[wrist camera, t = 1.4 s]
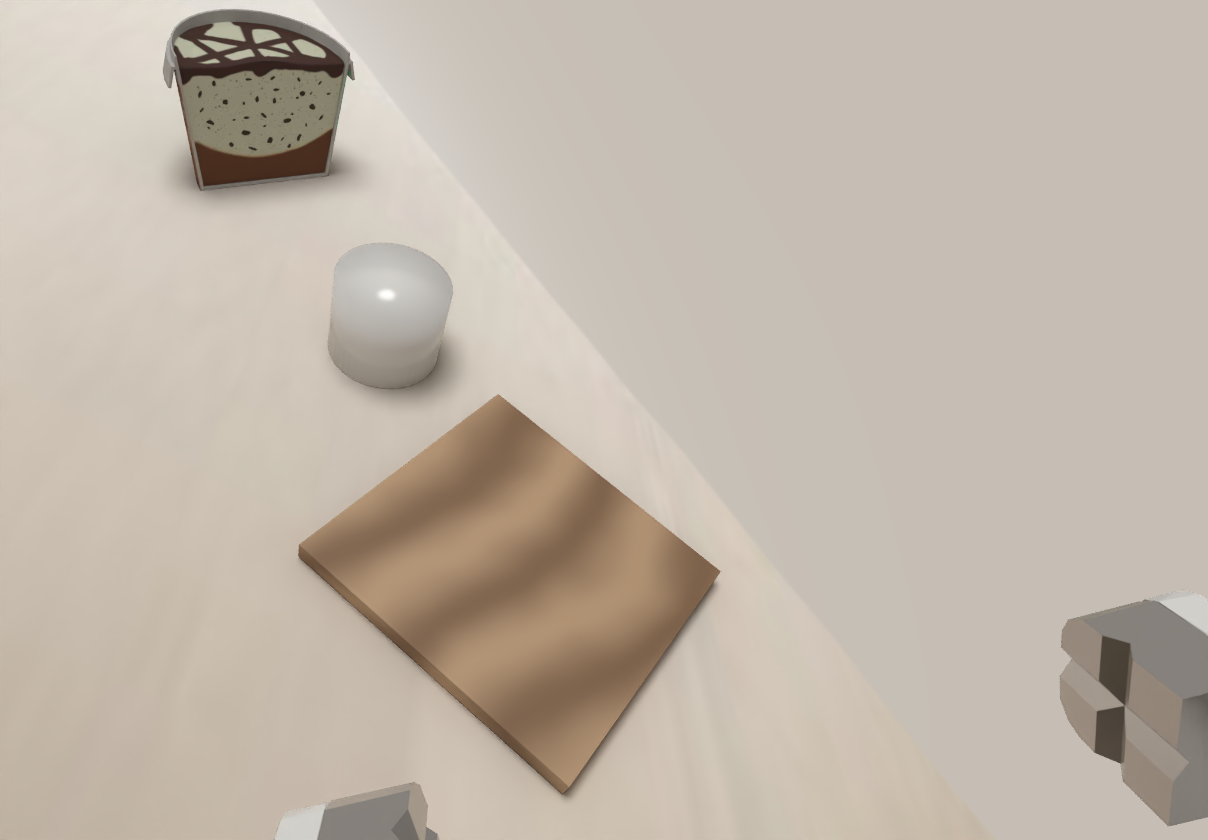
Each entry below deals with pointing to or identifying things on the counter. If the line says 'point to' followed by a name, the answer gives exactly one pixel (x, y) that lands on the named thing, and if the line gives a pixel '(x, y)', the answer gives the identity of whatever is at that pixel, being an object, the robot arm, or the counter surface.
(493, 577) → the walnut board
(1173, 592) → the robot arm
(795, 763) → the counter surface
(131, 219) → the counter surface
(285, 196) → the counter surface
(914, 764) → the counter surface
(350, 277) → the white dome-topped cylinder
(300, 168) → the food container
